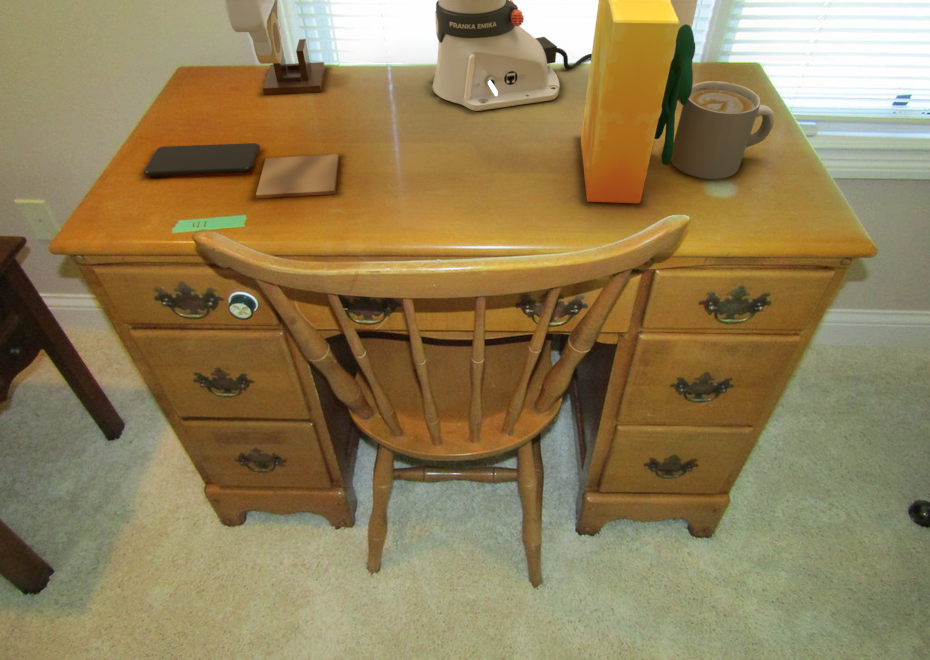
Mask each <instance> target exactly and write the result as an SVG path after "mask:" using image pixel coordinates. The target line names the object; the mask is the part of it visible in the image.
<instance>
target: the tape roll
mask: <svg viewBox="0 0 930 660" xmlns="http://www.w3.org/2000/svg"><path fill="white" fill-rule="evenodd" d="M266 28H267V31H268V35H269V37H271V42H272V47H273V50H272V53H271V55H270V56H259V55H258V54H257V52H256V48H255V44H254V41H253V40H252V43H253V49H254V53H255V56H256V58H257V61H258V62H259V64H261V65H265V64H266V65H269V64H270V65H273V63H281V59H282V48H283V44H282V45H281V43H282V36H281V30H280V29H281V28H280V29H279V25H278V21H277V17H276V15H275V13H274V12H270V15H269V17H268V20H267V27H266Z"/></svg>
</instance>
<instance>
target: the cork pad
mask: <svg viewBox="0 0 930 660" xmlns="http://www.w3.org/2000/svg"><path fill="white" fill-rule="evenodd" d="M339 158H340V156H339V153H337V154H335V153H334V154H320V155H319V154H318V155H302V156H282V157H279V156H278V157H265V160H264V162H263V167H262V170H261V174H260V177H259V181H258V185H257V189H256V192H255V197H256V199H270V198H288V197H290V198H291V197H305V196H325V195H326V196H327V195H335V194H336V188H337V187H336V186H337V180H338V179H337V178H338V169H339V161H340V159H339Z"/></svg>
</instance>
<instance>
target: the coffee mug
mask: <svg viewBox="0 0 930 660" xmlns="http://www.w3.org/2000/svg"><path fill="white" fill-rule="evenodd" d="M761 101H762V100H761V98H760V96H759V95H758V94H757V93H756V92H754V90H751V89H750V88H748V87H746V86H743V85H740V84H738V83H733V82H728V81H718V80H717V81H715V80H709V81H701V82H697V83H695V84H692V92H691V95H690V97H689V99H688V101H687V103H686V104H685V105H682V107H681V111H680V115H679V119H678V124H677V127H676V133H675V134H674V144H673V154H672V158H671V161H670V163H671V164H672V165H673V166H674V167H675V168H676V169H677V170H678V171H680V172H681V173H684V174H686V175H688V176H691V177H695V178H697V179H698V178H699V179H705V180H720V179H726V178H729V177H731V176H733V175H735V174H736V173H737V172H738V171H739V169H740V167H741V163H742V160H743V158H744V154H745V152H746V148H749V147H752V146H756V145H757V144H760V143H761V142H763V141H765V140H766V138H767V137H768V136H769V135H770V132H771V131H772V129H773V125H774V122H775V113H774V111H773V110H772V108H770V106H768V105H765V104H761ZM760 116H761V118H762V119H761V124H760V126H759V127H758V129H757V130H756V131H755V132H753V133H752V130H753V127H754V124H755V121H756V119H757V118H758V117H760Z"/></svg>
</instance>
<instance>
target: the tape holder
mask: <svg viewBox="0 0 930 660" xmlns="http://www.w3.org/2000/svg"><path fill="white" fill-rule="evenodd" d="M281 45H282V46H283V44H282V42H281ZM296 46H297V47H296V50H295V52H296V53H295V54H296V57H297V62H296V63H287V61H286V58H285V53H284V48H283V47H282V59H281V63H273V64H270V65H269V67H268V68H269V69H268V71H267V74H266V77H265V80H264V82H263V87H262V91H263V94H264V96H265V95H283V94H285V95H286V94H305V93H307V94H308V93H321V92H322V89H323V83H324V77H325V71H326V65H325V62H323V61H319V62H318V61H317V62H311V60H310V55H309V49H308V44H307V39H306V38H302V39H301V38H300V39H298V43H297V45H296Z"/></svg>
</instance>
